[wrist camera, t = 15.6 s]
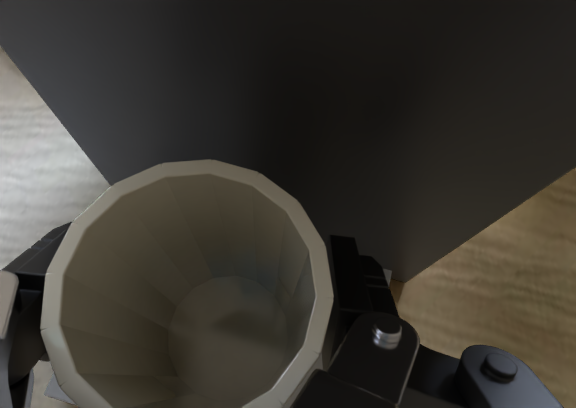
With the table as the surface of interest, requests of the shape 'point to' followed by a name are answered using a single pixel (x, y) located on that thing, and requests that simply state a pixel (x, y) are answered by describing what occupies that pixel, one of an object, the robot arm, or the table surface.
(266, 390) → the container
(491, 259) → the table surface
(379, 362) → the robot arm
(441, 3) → the coffee maker
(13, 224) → the table surface
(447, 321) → the table surface
